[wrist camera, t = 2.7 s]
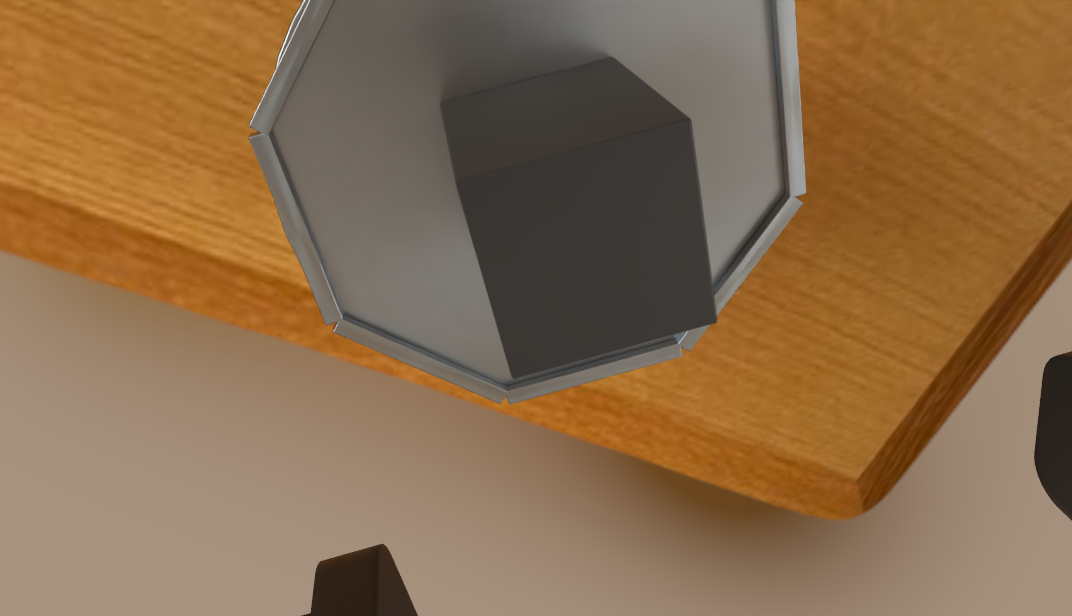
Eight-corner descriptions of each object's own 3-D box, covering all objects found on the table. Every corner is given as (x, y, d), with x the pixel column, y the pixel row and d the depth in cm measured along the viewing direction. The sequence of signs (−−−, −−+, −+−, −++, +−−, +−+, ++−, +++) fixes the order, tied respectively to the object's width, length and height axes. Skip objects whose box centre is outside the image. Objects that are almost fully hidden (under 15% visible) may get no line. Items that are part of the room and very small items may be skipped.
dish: (377, 287, 33) (370, 448, 24) (243, -76, 27) (161, -53, 17) (700, 199, 34) (819, 322, 24) (651, -181, 27) (788, -215, 18)
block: (484, 262, 22) (512, 380, 17) (438, 102, 20) (455, 181, 15) (641, 219, 22) (718, 323, 17) (614, 55, 20) (691, 117, 15)
